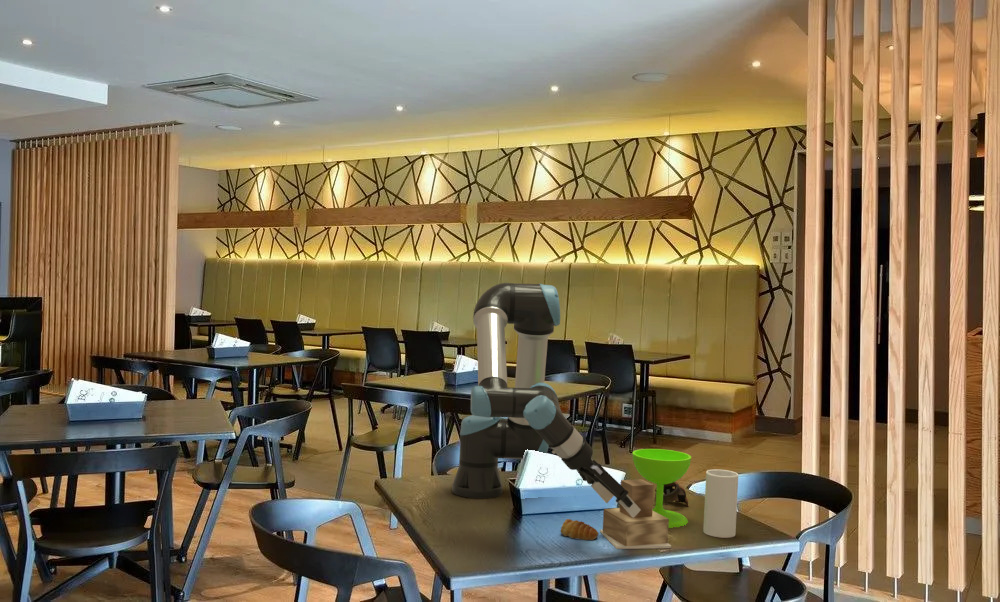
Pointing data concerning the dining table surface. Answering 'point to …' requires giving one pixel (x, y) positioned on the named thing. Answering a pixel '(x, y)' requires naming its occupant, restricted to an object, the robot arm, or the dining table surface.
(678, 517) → the wineglass
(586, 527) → the pastry
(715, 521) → the cup
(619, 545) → the tile
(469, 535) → the dining table surface
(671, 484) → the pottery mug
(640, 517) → the cover
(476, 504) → the dining table surface
